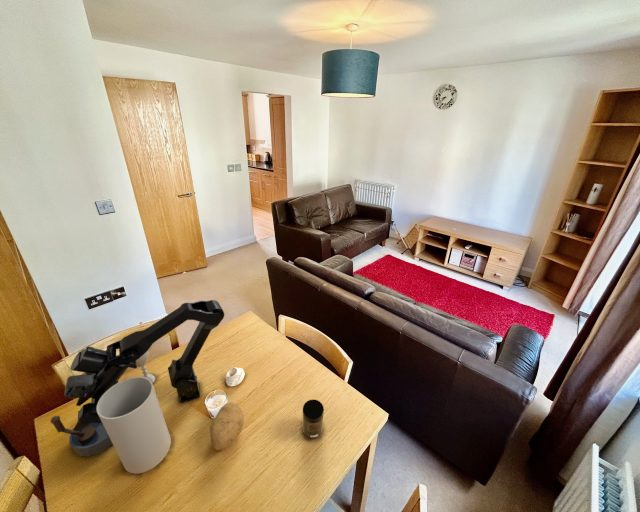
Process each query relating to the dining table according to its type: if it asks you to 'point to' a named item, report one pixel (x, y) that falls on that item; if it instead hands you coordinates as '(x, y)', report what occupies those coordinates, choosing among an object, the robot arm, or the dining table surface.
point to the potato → (226, 426)
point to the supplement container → (313, 418)
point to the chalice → (141, 363)
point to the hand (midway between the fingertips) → (76, 417)
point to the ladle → (81, 436)
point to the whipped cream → (234, 376)
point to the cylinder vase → (135, 424)
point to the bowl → (91, 441)
